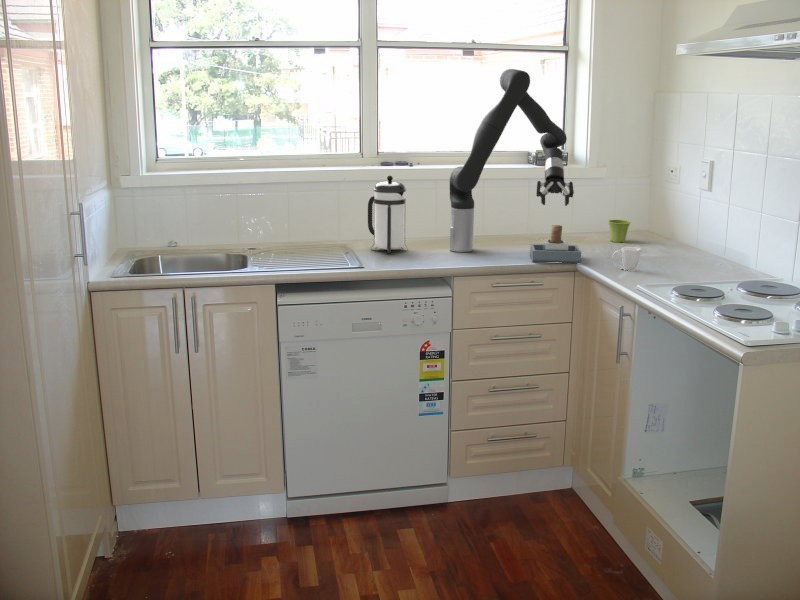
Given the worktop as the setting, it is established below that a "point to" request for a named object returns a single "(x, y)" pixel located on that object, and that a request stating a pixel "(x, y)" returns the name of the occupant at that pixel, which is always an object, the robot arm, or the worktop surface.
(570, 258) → the bin
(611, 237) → the plant pot
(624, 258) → the cup
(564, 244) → the bore block
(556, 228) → the peg
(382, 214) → the coffee press
